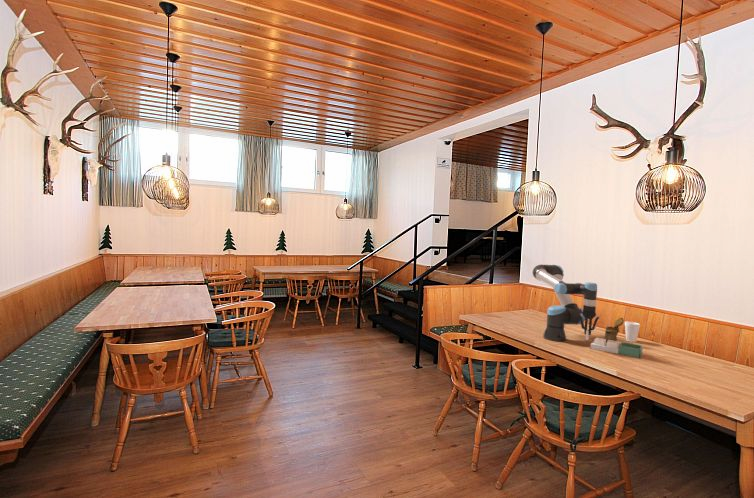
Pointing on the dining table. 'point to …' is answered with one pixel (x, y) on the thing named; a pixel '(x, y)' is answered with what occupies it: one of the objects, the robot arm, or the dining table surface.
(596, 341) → the tile
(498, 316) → the dining table surface
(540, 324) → the dining table surface
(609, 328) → the wooden mug
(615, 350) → the board
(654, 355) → the dining table surface
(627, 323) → the foam cup
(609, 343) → the tile
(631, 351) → the box
